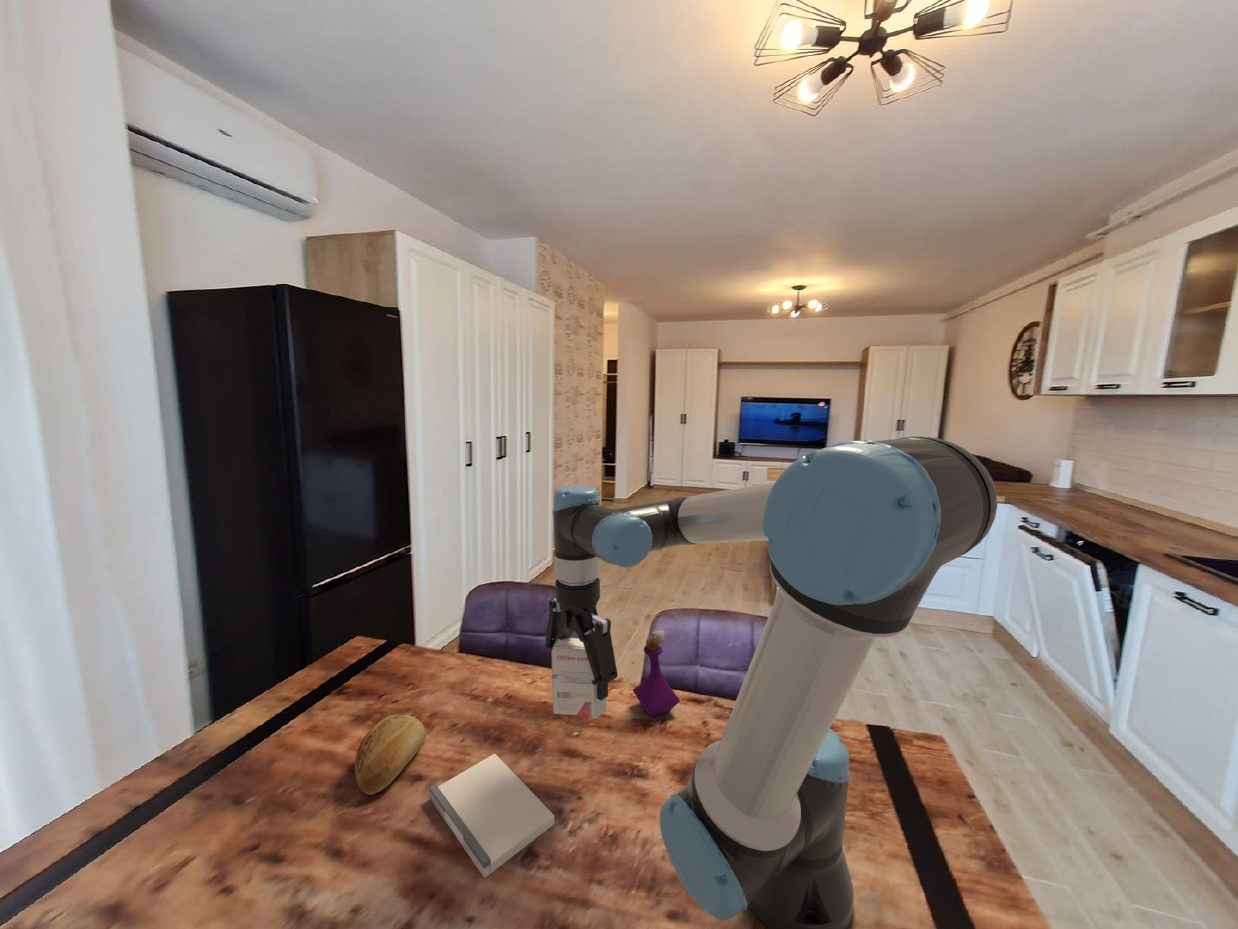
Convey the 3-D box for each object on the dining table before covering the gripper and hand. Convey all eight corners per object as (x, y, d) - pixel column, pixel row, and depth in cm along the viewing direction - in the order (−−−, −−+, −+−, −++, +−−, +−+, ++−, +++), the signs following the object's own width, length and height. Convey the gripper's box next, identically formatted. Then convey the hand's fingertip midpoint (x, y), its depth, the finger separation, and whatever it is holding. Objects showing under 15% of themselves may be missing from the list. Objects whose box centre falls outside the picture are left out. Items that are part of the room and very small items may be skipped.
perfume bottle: (632, 703, 103) (632, 626, 100) (662, 694, 106) (663, 619, 103) (648, 725, 96) (649, 642, 93) (679, 715, 99) (681, 634, 96)
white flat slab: (554, 824, 74) (554, 811, 73) (483, 879, 65) (482, 864, 65) (495, 760, 86) (494, 749, 86) (429, 800, 78) (428, 787, 78)
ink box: (606, 700, 85) (605, 637, 83) (602, 718, 80) (601, 652, 78) (559, 697, 86) (557, 635, 84) (552, 714, 81) (550, 649, 79)
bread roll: (338, 798, 78) (334, 755, 77) (391, 735, 93) (388, 698, 92) (392, 804, 77) (389, 760, 76) (437, 739, 92) (435, 701, 91)
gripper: (640, 589, 75) (640, 720, 77) (556, 558, 90) (558, 668, 93) (605, 603, 69) (607, 743, 72) (522, 567, 85) (526, 684, 88)
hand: (579, 701), depth 83 cm, fingers closed on ink box, 9 cm apart
